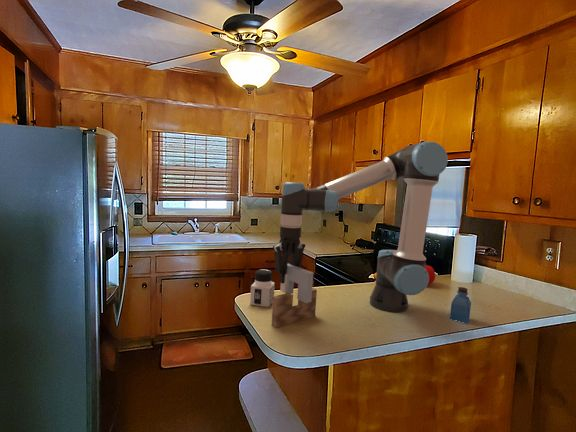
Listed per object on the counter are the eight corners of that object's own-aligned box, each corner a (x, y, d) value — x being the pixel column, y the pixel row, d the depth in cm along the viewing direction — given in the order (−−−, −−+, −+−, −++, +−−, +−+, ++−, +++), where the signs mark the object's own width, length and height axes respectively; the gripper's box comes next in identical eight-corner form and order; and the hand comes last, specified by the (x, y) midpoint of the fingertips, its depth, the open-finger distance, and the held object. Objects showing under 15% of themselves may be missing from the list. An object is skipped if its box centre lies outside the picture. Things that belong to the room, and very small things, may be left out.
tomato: (432, 289, 163) (434, 268, 162) (406, 284, 169) (408, 263, 168) (436, 284, 172) (438, 264, 171) (411, 279, 179) (413, 260, 178)
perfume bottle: (468, 323, 124) (471, 292, 122) (449, 319, 127) (453, 288, 126) (469, 318, 129) (472, 288, 128) (451, 314, 132) (454, 284, 131)
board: (310, 313, 125) (312, 287, 124) (315, 316, 123) (316, 289, 122) (271, 325, 113) (273, 296, 112) (275, 327, 112) (277, 298, 110)
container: (269, 307, 129) (270, 274, 127) (249, 304, 130) (251, 272, 129) (273, 300, 136) (275, 269, 135) (255, 298, 138) (257, 267, 136)
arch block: (280, 290, 122) (281, 263, 121) (285, 289, 123) (287, 263, 122) (306, 303, 111) (308, 273, 110) (311, 301, 113) (313, 272, 112)
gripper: (300, 223, 126) (296, 284, 129) (266, 225, 116) (263, 291, 119) (314, 226, 120) (309, 290, 123) (279, 228, 110) (275, 297, 113)
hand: (286, 290), depth 121 cm, fingers closed on arch block, 2 cm apart
